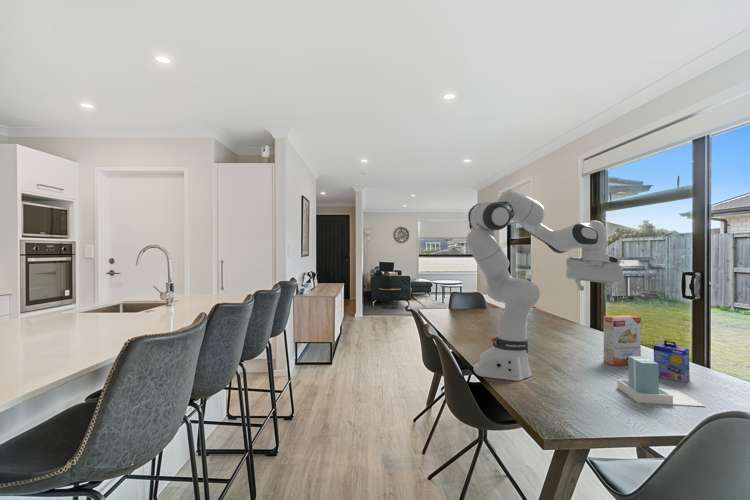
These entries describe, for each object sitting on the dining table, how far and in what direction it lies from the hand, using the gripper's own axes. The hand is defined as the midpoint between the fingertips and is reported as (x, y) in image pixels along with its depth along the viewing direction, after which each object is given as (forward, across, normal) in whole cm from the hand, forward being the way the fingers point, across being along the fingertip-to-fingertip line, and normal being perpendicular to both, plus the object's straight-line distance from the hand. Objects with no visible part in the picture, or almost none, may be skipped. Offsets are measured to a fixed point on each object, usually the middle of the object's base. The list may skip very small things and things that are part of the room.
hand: (594, 292), depth 138 cm
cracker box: (+24, +21, +27) cm, 42 cm away
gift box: (+36, +12, -9) cm, 39 cm away
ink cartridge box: (+28, +32, +12) cm, 44 cm away
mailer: (+36, +16, -9) cm, 40 cm away
